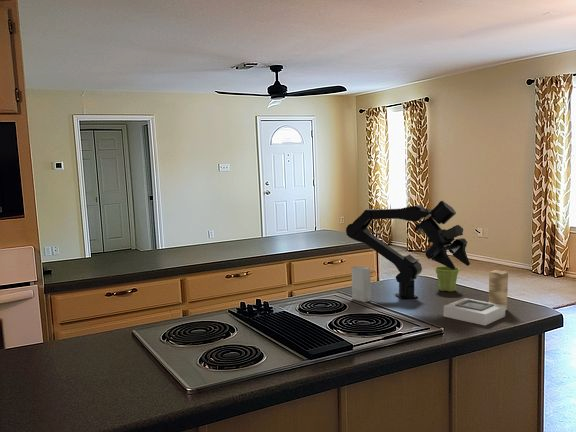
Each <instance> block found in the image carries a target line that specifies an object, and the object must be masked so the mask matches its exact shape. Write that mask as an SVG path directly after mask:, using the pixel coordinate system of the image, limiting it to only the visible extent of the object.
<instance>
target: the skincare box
mask: <svg viewBox="0 0 576 432" xmlns="http://www.w3.org/2000/svg"><path fill="white" fill-rule="evenodd" d="M350 271H351V299H352V300H354V301H357V302H358V301H359V302H363V303H366V302H370V301H372V285H371V284H372V282H371V281H372V279H371V268H370V267H366V266H360V265H357V266H353V267H351V269H350Z"/></svg>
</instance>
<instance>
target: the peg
mask: <svg viewBox="0 0 576 432" xmlns="http://www.w3.org/2000/svg"><path fill="white" fill-rule="evenodd" d="M508 282H509V271H503V270H497V269H494V270H492V271H489V273H488V302H489V303H494V304H499V305H505V311H507V310H508V288H509V287H508V286H509V285H508Z"/></svg>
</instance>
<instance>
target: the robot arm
mask: <svg viewBox="0 0 576 432" xmlns="http://www.w3.org/2000/svg"><path fill="white" fill-rule="evenodd" d="M455 215H457V212H456V211H455V209H454V208H453V207H452V206H450V205H449V204H448V203H446V202H445V201H444V200H440V201H439V202H438V204H437V205H436V206H435V207H434V208H433V209H428V208H425V206H424V205H422V204H421V205H420V204H416V205H412V206H407V207H406V206H405V207H402V208H377V209H372V208H369V209H365V210H363V212H362V213H361V214H360V215H359V216H358V217H357V218H356V219H355V220H354V221H353V222H351V223H349V224H348V225H347V226H346V227H345V234H346V236H347V237H348V238H350V239H352V240H354V241H356V242H360V243H362V244H365V245H367V247H369V248H370V249H372V250H373V251H375V252H376V253H378V254H379V255H381V256H382V257H383V258H385V259H386V261H389V262H390V263H392V264H393V265H394V266H395V267H396V269H397V270H398V273H397V275H396V276H395V280H396V282H397V283H398V293H395V294H394V295H395V296H396V297H398V298H399V299H402V300H406V299H407V300H409V299H418V298H419V295H418V296H417V295H416V294H415V280H416V279H417V277H418V276H419V275H420V274H422V271H423V268H422V264H421V263H420V262H419V259H417V258H415V257H414V256H413V255H411V254H407V255H402V254H401V253H399V252H398V251H397V250H395V249H394V248H392V247H391V246H389V245H388V244H386V243H385V242H383V241H382V240H380V239H379V238H378V237H376V236H375V235H374V234H372V232H371V230H370V229H369V228H368V227H369V226H370V225H371V223H372V221H373V220H393V219H395V220H397V219H399V220H403V221H408V222H415V226H414V231H415V232H417V233H418V232H419V233H420V232H421V231H422V232H423V234H424V235H425V236H426V238H427V242H428V243H429V244H430V243H431V245H430V246H429V247H428V248H427V249H426V250H425V253H424V254H425V257H426V258H427V259H428V260H432V261H434V262H437V263H439V264H441V265H442V266H447V267H449V268H451V269H453V270H454V269H455V267H456V266H455V264H454V262H453V261H452V260H451V259H450V257H449V255H448V253H447V251H448V252H449V253H450V254H451V255H452V257H454V258H456V259H457V260H458V261H460V263H463V264H464V265H465V266H467V267H469V266H470V265H471V263H470V259H469V258H468V255H467V251H466V247H467V244H468V241H467V240H466V238H464V237H463V238H462V237H461V236H463V235H464V234H463V233H464V228H463V226H461V225H459V224H456V225H455V226H452V227H450V228H448V229H442V228H441V227H440V225H441V224H442V225H445V224H447V222H449V221H450V220H451V219H452V218H453V217H454V216H455ZM426 217H427V218H426ZM425 218H426V219H425ZM419 221H420V222H419ZM416 222H419V223H416ZM459 236H460V238H458V237H459Z"/></svg>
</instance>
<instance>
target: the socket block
mask: <svg viewBox="0 0 576 432" xmlns="http://www.w3.org/2000/svg"><path fill="white" fill-rule="evenodd" d="M443 317H445V318H449V319H454V320H458V321H463V322H467V323H471V324H477V325H481V326H488V325H489V324H492V323H494V322H495V321H498V320H500V319H503V318H505V317H506V310H505V305H499V304H494V303H489V301H488V302H487V301H484V300H476V299H471V298H466V297H465V298H461V299H458V300H456V301H454V302H451V303H447V304H445V305H443Z"/></svg>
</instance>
